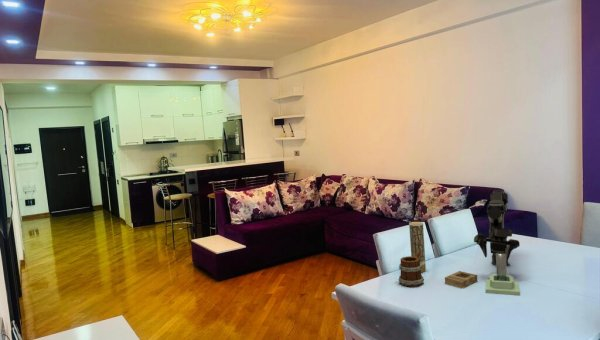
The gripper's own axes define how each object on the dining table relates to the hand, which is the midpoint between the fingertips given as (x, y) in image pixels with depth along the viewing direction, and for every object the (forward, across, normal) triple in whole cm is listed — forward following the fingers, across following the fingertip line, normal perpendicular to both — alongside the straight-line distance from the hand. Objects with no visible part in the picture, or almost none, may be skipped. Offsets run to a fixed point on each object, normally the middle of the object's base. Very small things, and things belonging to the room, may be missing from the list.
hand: (496, 259), depth 188 cm
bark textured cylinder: (+6, -30, +23) cm, 38 cm away
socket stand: (+14, +1, -3) cm, 14 cm away
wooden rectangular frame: (+12, -14, +6) cm, 19 cm away
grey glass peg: (+12, +1, -4) cm, 13 cm away
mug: (+15, -35, +11) cm, 39 cm away
